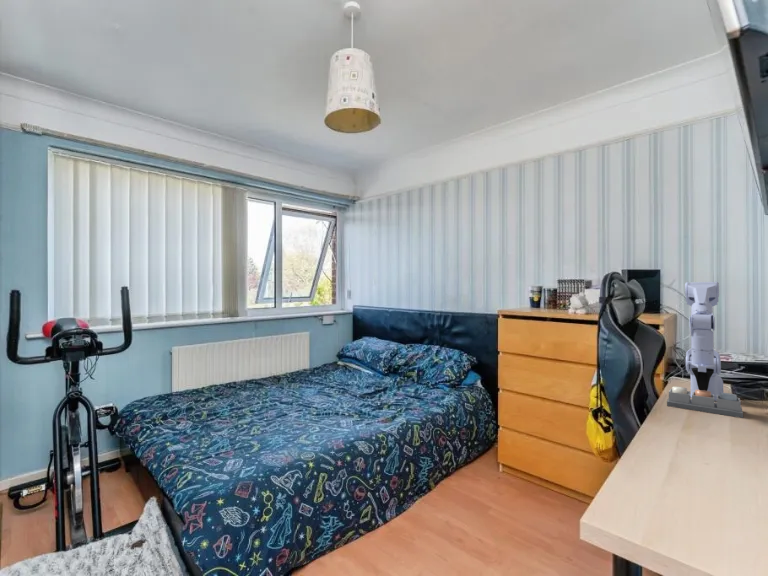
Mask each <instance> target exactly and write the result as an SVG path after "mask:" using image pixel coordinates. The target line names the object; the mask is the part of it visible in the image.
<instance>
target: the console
mask: <svg viewBox="0 0 768 576" xmlns="http://www.w3.org/2000/svg"><path fill="white" fill-rule="evenodd" d="M690 394H691V390H690V391H689V390H687V394H681V393H674V392H672V388H670V389H669V391H668V399H667V401H666V406H667V407H672V408H679V409H683V410H684V409H685V410H690V411H691V410H692V411H695V412H696V411H697V412H703V413H704V412H705V413H709V414H715V415H723V416H728V417H734V418H741V419H744V412H743V408H742V406H741V405H742V402H741V398H740V397H737V401H732V400H724V399H720V395H717V401H716V402H715V401H714V395H712V394H711V398H710V397H703V396H696V395H695V392H693V393H692V398H691V395H690Z"/></svg>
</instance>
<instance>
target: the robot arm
mask: <svg viewBox="0 0 768 576" xmlns="http://www.w3.org/2000/svg"><path fill="white" fill-rule="evenodd" d="M684 289H685V290H684V295H685V302H686V305H688V306H690V309H691V311H690V316H689V317H688V318H689V319H688V320H689V321H688V325H689V327H688V328H689V332H690V336H691V337H690V339H691V340H690V346H691V347H690V349H688V350H687V351H686V352H685V370H686V371H687V372H689V374H690V395H691V399H692V393H693V392H695V390H703V391H710V392H711V394H712V395H714V402H717V395H720V393H724V380H723V379H722V377H721V376H719V375H721V373H722V361H721V355H720V353H719V352H718V351H716V350H715V348H714V343H715V342H714V331H716V319H715V318H716V317H715V315H714V312H713V310H714V309H713V307H715V306H717V305H718V303H719V297H720V286H719V282H718V281H716V280H715V281H691V282H689V281H686V282H685V283H684Z"/></svg>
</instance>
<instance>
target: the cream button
mask: <svg viewBox="0 0 768 576" xmlns="http://www.w3.org/2000/svg"><path fill="white" fill-rule="evenodd" d="M671 389H672V392H674V393H681V394H687V391H688V388H686V387H683V386H672V387H671Z"/></svg>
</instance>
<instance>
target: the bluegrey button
mask: <svg viewBox="0 0 768 576" xmlns="http://www.w3.org/2000/svg"><path fill="white" fill-rule="evenodd" d="M737 398H738V395H737V394H735V393H728V392H723V393H720V399H724V400H732V401H737Z"/></svg>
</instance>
